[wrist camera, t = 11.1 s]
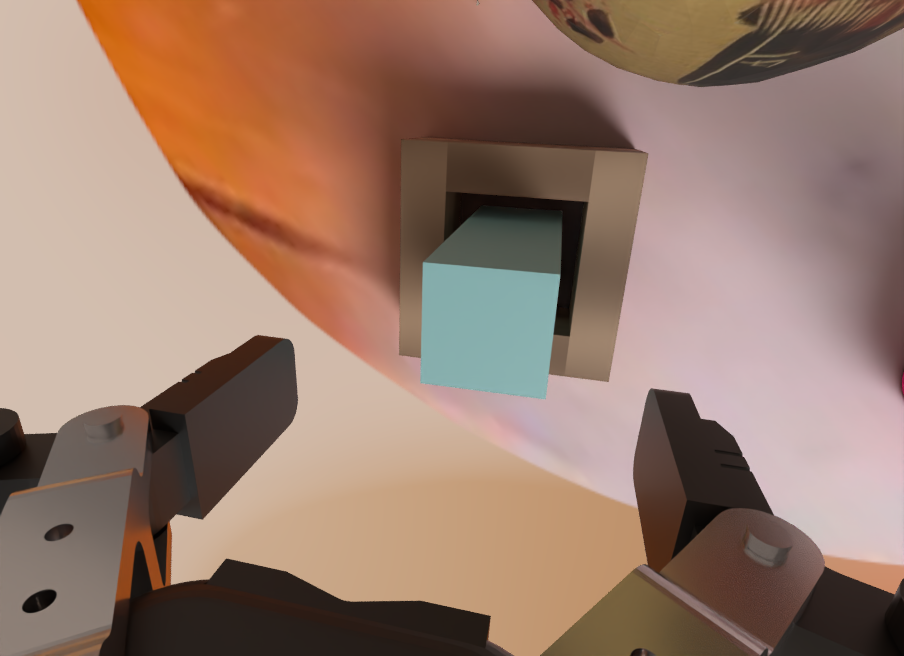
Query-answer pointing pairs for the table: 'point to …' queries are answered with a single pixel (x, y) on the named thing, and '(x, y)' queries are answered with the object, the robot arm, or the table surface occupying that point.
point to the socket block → (536, 176)
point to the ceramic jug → (722, 34)
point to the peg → (493, 302)
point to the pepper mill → (903, 383)
